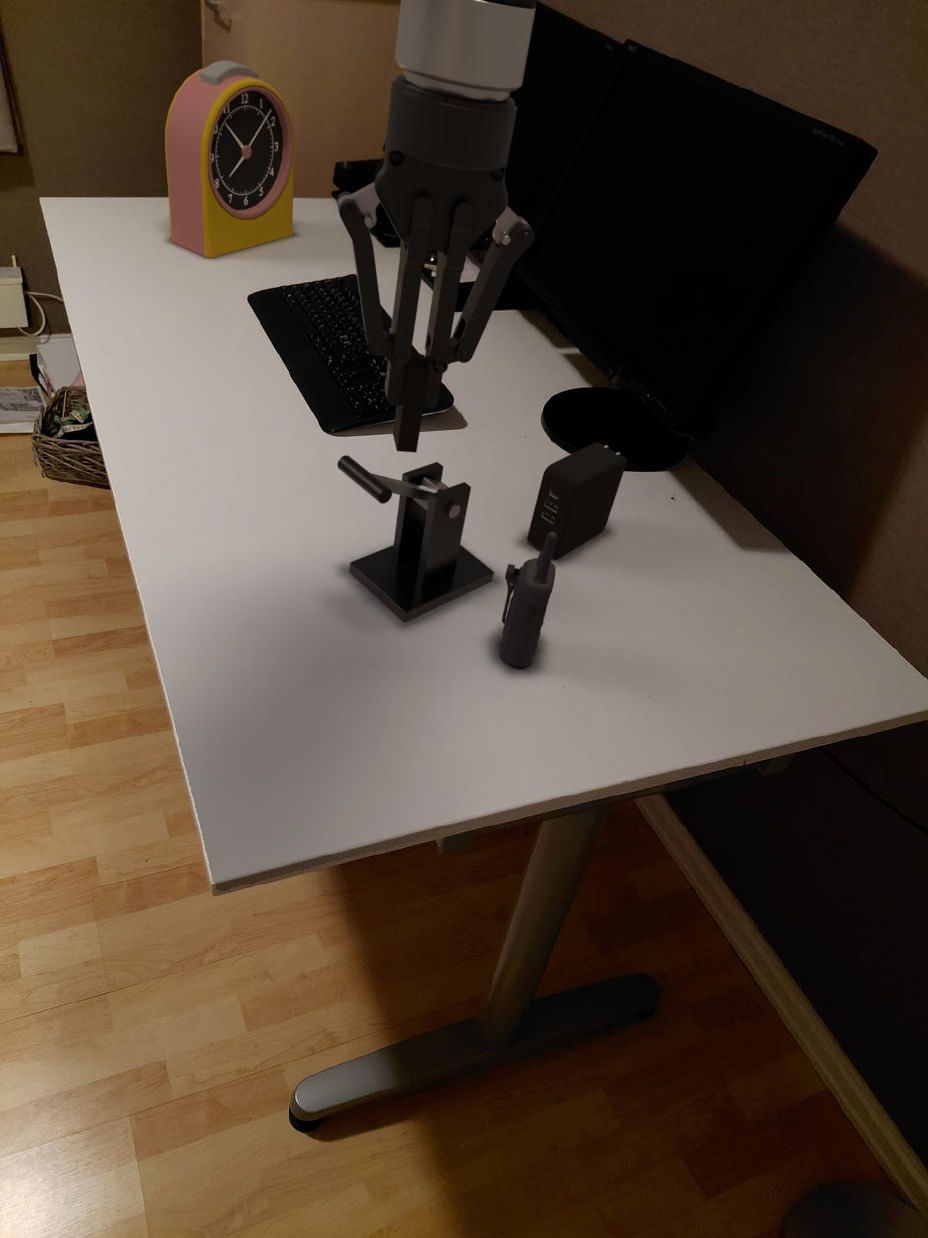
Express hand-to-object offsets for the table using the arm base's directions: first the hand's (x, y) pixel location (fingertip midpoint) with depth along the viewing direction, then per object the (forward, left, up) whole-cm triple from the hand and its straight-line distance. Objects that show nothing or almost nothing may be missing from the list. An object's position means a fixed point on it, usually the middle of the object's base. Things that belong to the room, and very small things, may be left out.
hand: (404, 442), depth 64 cm
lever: (+2, +8, -11) cm, 14 cm away
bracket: (+6, +10, -22) cm, 25 cm away
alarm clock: (-13, +103, -22) cm, 107 cm away
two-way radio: (+13, -1, -22) cm, 26 cm away
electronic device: (+24, +18, -22) cm, 37 cm away
